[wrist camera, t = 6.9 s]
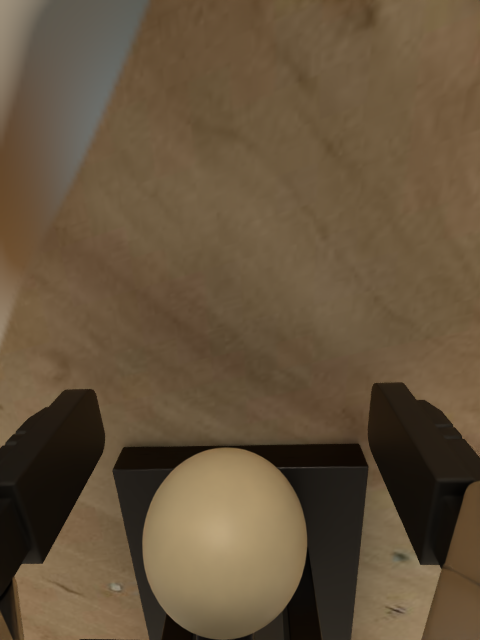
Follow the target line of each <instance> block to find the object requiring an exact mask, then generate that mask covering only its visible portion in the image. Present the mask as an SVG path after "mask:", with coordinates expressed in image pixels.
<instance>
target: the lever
mask: <svg viewBox="0 0 480 640" xmlns="http://www.w3.org/2000/svg"><path fill="white" fill-rule="evenodd" d="M142 545H143V561H144V568H145V572H146V575H147V579H148V582H149V584H150V587H151V589H152V591H153V593H154V595H155V597H156V599H157V600H158V602H159V604H160V605H161V606H162V608H163V609H164V611H165V612H166V613H167V614H168V615H169V616H170V617H171V618H172V619H173V620H174V621H175V622H176V623H178V624H179V625H180V626H181V627H183V628H185V629H186V630H188V631H190V632H192V633H194V634H196V640H255V632H256V631H258V630H260V629H261V628H263V627H265V626H266V625H268V624H269V623H270V622H271V621H273V620H274V619H275V618H276V617H277V616H278V615H279V614H280V613H281V612H282V611H283V610H284V608H285V607H286V605H287V604H288V603H289V601H290V600H291V598H292V596H293V594H294V593H295V591H296V589H297V587H298V585H299V582H300V579H301V577H302V573H303V569H304V566H305V560H306V553H307V531H306V523H305V518H304V514H303V510H302V507H301V504H300V501H299V499H298V497H297V495H296V493H295V491H294V489H293V487H292V486H291V485H290V483H289V482H288V480H287V479H286V477H285V476H284V475H283V474H282V473H281V472H280V470H279V469H277V468H276V467H275V466H274V465H273V464H272V463H270V462H269V461H267V460H266V459H264V458H263V457H261V456H259V455H257V454H255V453H252V452H249V451H247V450H243V449H238V448H215V449H210V450H206V451H203V452H201V453H198V454H196V455H194V456H192V457H190V458H188V459H187V460H185V461H184V462H182V463H181V464H180V465H178V466H177V467H176V468H175V469H174V470H173V471H172V472H171V473H170V474H169V475H168V476H167V477H166V479H165V480H164V481H163V482H162V484H161V485H160V487H159V488H158V490H157V492H156V493H155V495H154V497H153V499H152V502H151V504H150V507H149V510H148V513H147V516H146V520H145V524H144V529H143V540H142Z"/></svg>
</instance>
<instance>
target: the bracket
mask: <svg viewBox="0 0 480 640" xmlns="http://www.w3.org/2000/svg"><path fill="white" fill-rule="evenodd" d="M215 448H238V449H243V450H247V451H249V452H252V453H255V454H257V455H259V456H261V457H263V458H264V459H266V460H267V461H269V462H270V463H272V464H273V465H274V466H275V467H276V468H277V469H279V470H280V472H281V473H282V474H283V475H284V476H285V477H286V479H287V480H288V482H289V483H290V485H291V486H292V487H293V489H294V491H295V493H296V495H297V497H298V499H299V501H300V504H301V507H302V510H303V514H304V518H305V523H306V531H307V553H306V560H305V566H304V569H303V573H302V577H301V579H300V582H299V585H298V587H297V589H296V591H295V593H294V594H293V596H292V598H291V600H290V601H289V603H288V604H287V605H286V607H285V608H284V610H283V611H282V612H281V613H280V614H279V615H278V616H277V617H276V618H275V619H274V620H273V621H271V622H270V623H269V624H268V625H266V626H265V627H263V628H261V629H260V630H258V631H256V632H255V640H351V633H352V624H353V614H354V604H355V594H356V584H357V575H358V565H359V555H360V545H361V535H362V526H363V516H364V506H365V496H366V486H367V477H368V464H367V462H366V459H365V457H364V454H363V452H362V449H361V447H360V445H359V444H307V445H245V446H183V447H124V448H123V449H122V451H121V453H120V455H119V457H118V460H117V462H116V464H115V466H114V468H113V475H114V479H115V484H116V488H117V493H118V498H119V502H120V507H121V511H122V516H123V521H124V525H125V530H126V534H127V539H128V543H129V548H130V553H131V557H132V562H133V566H134V571H135V576H136V580H137V585H138V589H139V594H140V598H141V603H142V608H143V612H144V617H145V621H146V626H147V630H148V635H149V640H196V634H194V633H192V632H190V631H188V630H186V629H185V628H183V627H181V626H180V625H179V624H178V623H176V622H175V621H174V620H173V619H172V618H171V617H170V616H169V615H168V614H167V613H166V612H165V611H164V609H163V608H162V606H161V605H160V604H159V602H158V600H157V599H156V597H155V595H154V593H153V591H152V589H151V587H150V584H149V582H148V579H147V575H146V572H145V568H144V561H143V545H142V540H143V529H144V524H145V520H146V516H147V513H148V510H149V507H150V504H151V502H152V499H153V497H154V495H155V493H156V492H157V490H158V488H159V487H160V485H161V484H162V482H163V481H164V480H165V479H166V477H167V476H168V475H169V474H170V473H171V472H172V471H173V470H174V469H175V468H176V467H177V466H178V465H180V464H181V463H182V462H184V461H185V460H187V459H188V458H190V457H192V456H194V455H196V454H198V453H201V452H203V451H206V450H210V449H215Z"/></svg>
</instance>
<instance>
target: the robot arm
mask: <svg viewBox="0 0 480 640" xmlns="http://www.w3.org/2000/svg"><path fill="white" fill-rule="evenodd" d="M368 441H369V446H370V450H371V452H372V455H373V457H374V459H375V462H376V464H377V466H378V468H379V471H380V473H381V475H382V478H383V480H384V482H385V484H386V487H387V489H388V491H389V494H390V496H391V498H392V501H393V503H394V505H395V507H396V510H397V512H398V514H399V517H400V519H401V521H402V523H403V526H404V528H405V530H406V533H407V535H408V537H409V539H410V542H411V544H412V546H413V549H414V551H415V553H416V555H417V558H418V560H419V562H420V565H440V567H441V569H442V570H441V573H440V577H439V580H438V584H437V587H436V591H435V594H434V598H433V601H432V605H431V608H430V611H429V615H428V618H427V622H426V625H425V629H424V632H423V636H422V639H421V640H480V458H479V456H478V455H477V454H476V453H475V451H474V450H473V449H472V448H471V447H470V445H469V444H468V443H467V442H466V440H465V439H462V436H461V434H460V433H459V432H458V431H457V429H456V428H455V427H453V424H452V423H451V422H450V421H449V420H448V418H447V417H446V416H445V415H444V413H443V412H442V411H441V410H439V409H438V408H436V407H435V406H433V405H431V404H430V403H428V402H427V401H425V400H416V399H415V397H414V396H413V395H412V393H411V392H410V391H409V389H408V388H407V387H406V385H405V384H404V383H402V382H395V383H374V384H373V386H372V391H371V401H370V411H369V421H368ZM104 445H105V432H104V427H103V423H102V418H101V414H100V409H99V405H98V400H97V396H96V393H95V391H94V390H92V389H72V390H64V391H63V392H62V393H61V394H60V395H59V396H58V397H57V398H56V399H55V401H54V402H53V403H52V404H51V405H50V406H49V407H45V408H44V409H42V410H41V411H39V412H38V413H36V414H34V415H33V416H31V417H30V418H28V419H27V420H26V421H25V422H24V423H23V425H22V426H21V427H20V428H19V429H18V430H17V431H16V434H13V435H12V436H11V437H10V438H9V440H8V441H7V442H6V443H5V446H2V447H1V448H0V640H24V634H23V626H22V618H21V611H20V603H19V595H18V587H17V582H16V579H15V577H14V576H15V574H16V572H17V571H18V569H19V567H20V566H21V564H43V562H44V560H45V558H46V556H47V555H48V553H49V551H50V549H51V547H52V545H53V544H54V542H55V540H56V538H57V536H58V534H59V533H60V531H61V529H62V527H63V525H64V523H65V522H66V520H67V518H68V516H69V514H70V512H71V510H72V509H73V507H74V505H75V503H76V501H77V499H78V498H79V496H80V494H81V492H82V490H83V488H84V487H85V485H86V483H87V481H88V479H89V477H90V476H91V474H92V472H93V470H94V468H95V466H96V465H97V463H98V461H99V459H100V457H101V455H102V453H103V450H104ZM80 640H114V639H80Z"/></svg>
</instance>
